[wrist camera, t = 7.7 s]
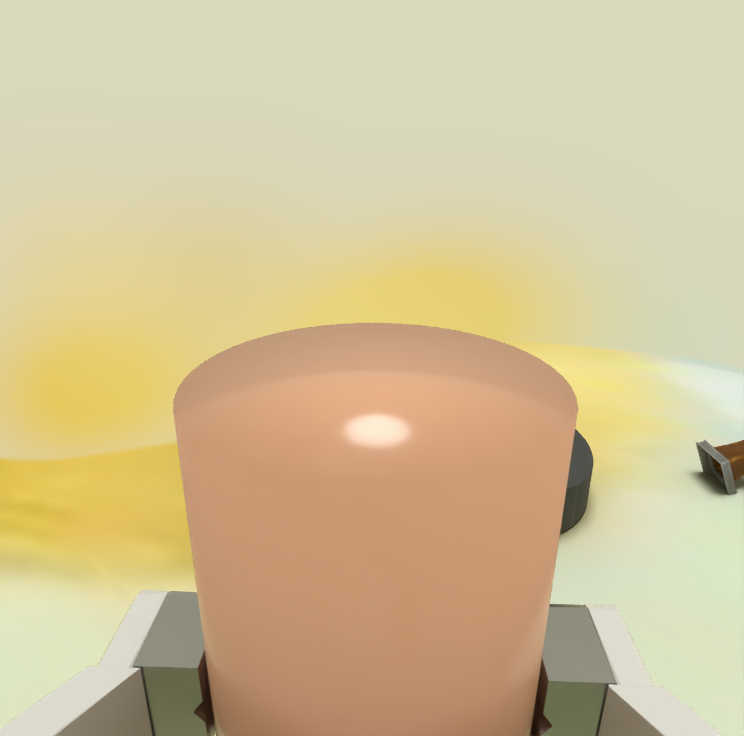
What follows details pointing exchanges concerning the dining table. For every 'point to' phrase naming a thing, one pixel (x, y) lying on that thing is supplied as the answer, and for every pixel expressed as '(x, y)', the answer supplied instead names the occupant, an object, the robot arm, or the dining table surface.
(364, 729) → the salmon orange cylinder
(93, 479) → the dining table surface
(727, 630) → the dining table surface
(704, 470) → the brown grey jointed tubes
